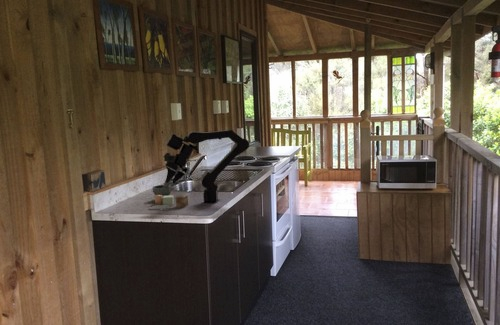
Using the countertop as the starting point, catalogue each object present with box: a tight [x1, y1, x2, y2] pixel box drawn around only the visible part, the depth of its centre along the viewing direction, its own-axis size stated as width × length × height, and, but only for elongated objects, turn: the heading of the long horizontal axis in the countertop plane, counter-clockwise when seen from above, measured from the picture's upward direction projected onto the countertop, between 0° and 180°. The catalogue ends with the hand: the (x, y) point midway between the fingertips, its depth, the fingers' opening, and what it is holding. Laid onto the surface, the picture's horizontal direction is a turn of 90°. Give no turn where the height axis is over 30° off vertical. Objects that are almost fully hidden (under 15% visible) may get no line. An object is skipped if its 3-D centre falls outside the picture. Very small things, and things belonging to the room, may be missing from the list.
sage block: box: [162, 194, 175, 206], centre depth 228 cm, size 5×5×4 cm
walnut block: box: [175, 194, 189, 208], centre depth 222 cm, size 4×4×5 cm
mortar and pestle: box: [152, 179, 172, 196], centre depth 239 cm, size 11×9×12 cm
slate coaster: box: [148, 204, 171, 211], centre depth 220 cm, size 8×8×1 cm
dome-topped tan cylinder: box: [154, 194, 163, 205], centre depth 228 cm, size 4×4×4 cm
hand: (170, 182), depth 223 cm, fingers open, 9 cm apart
